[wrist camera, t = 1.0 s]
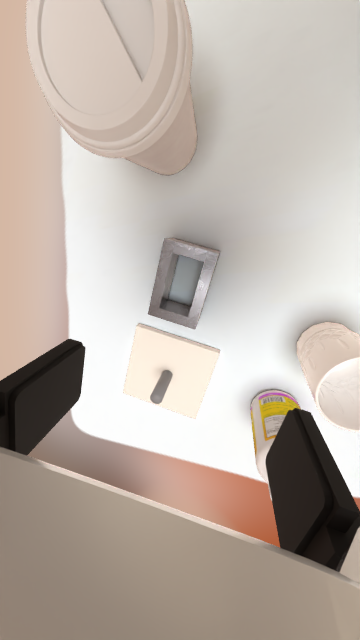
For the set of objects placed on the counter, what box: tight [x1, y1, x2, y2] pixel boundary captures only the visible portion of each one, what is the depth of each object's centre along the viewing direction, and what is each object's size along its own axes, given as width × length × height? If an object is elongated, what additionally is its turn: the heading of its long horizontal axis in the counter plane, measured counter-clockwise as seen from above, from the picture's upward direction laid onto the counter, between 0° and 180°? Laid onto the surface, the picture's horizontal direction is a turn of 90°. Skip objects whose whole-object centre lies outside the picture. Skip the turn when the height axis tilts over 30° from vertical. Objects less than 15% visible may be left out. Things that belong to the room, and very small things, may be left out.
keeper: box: [123, 323, 220, 419], centre depth 33 cm, size 12×12×6 cm
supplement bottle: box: [250, 390, 300, 500], centre depth 28 cm, size 7×7×13 cm
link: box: [148, 238, 220, 329], centre depth 29 cm, size 9×6×4 cm, turn 165°
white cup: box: [297, 322, 360, 432], centre depth 25 cm, size 8×8×10 cm
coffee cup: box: [26, 0, 197, 175], centre depth 19 cm, size 10×10×15 cm
